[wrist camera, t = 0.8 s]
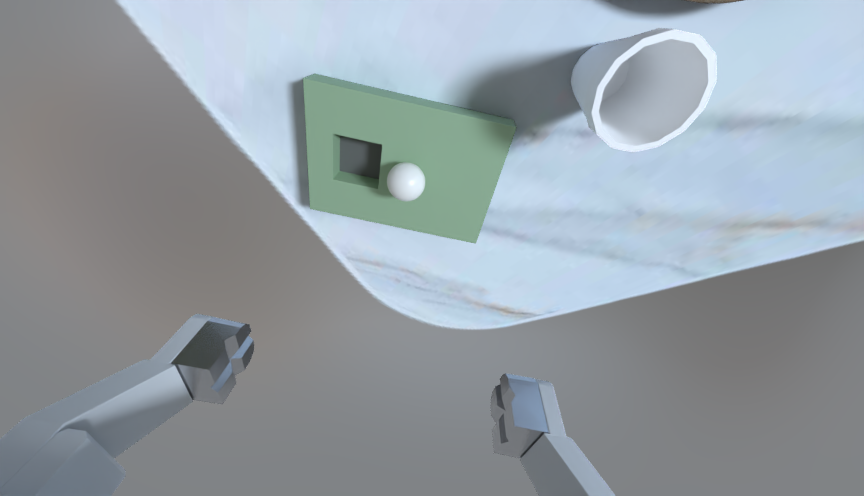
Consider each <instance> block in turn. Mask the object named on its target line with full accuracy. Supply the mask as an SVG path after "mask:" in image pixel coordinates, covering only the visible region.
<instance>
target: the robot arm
mask: <svg viewBox="0 0 864 496" xmlns="http://www.w3.org/2000/svg"><path fill="white" fill-rule="evenodd" d="M250 332H251V328H250V325H249V324H245V323H240V322H235V321H230V320H225V319H220V318H216V317H212V316H206V315H200V314H196V315H194V316H192V317H190V318H189V319H188V320H187V322H185V323H184V325H183V326H182V327H181V328H180V329H179V330H178V331H177V332H176V333H175V334H174V335H173V336H172V337H171V338H170V339H169V340H168V342H167V343H166V344H165V345H164V346H163V347H162V348H161V349H160V350H159V351H158V352H157V353H156V354H155V355H154V356H153V357H152V358H151V360H146V359H144V360H142V361H140V362H138V363H136V364H134V365H132V366H130V367H128V368H126V369H124V370H122V371H119V372H117V373H116V374H114V375H111V376H109V377H107V378H105V379H103V380H101V381H99V382H97V383H95V384H93V385H91V386H89V387H87V388H85V389H83V390H80V391H78V392H76V393H74V394H72V395H70V396H68V397H66V398H64V399H62V400H60V401H58V402H56V403H54V404H52V405H50V406H48V407H46V408H44V409H41V410H39V411H37V412H35V413H33V414H31V415H29V416H27V417H25V418H23V419H22V420H21V421H20V422H19V423H17V424H16V425H15V426H14V427H13V428H12V429H11V430H10V431H9V432H7V433H6V434H5V435H4V436H3V437H2V438H1V439H0V496H111V495H112V494H113V493H114V491H115V490H116V488H117V487H118V486H119V484H120V483H121V482H122V480H123V479H124V477H125V469H124V468H123V467H122V466H121V465H120V464H119V463H118V462H117V461H116V460H115V459H114V458H115V457H117V456H118V455H120V454H121V453H122V452H124V451H125V450H127V449H128V448H129V447H131V446H132V445H133V444H135V443H136V442H138V441H139V440H140V439H142V438H143V437H145V436H146V435H147V434H149V433H150V432H151V431H153V430H154V429H156V428H157V427H159V426H160V425H161V424H162V423H164V422H165V421H167V420H168V419H170V418H171V417H172V416H174V415H175V414H176V413H178V412H179V411H180V410H182V409H184V408H185V407H186V406H188V405H189V404H190V403H192V402H193V400H197V401H204V402H210V403H217V404H223V403H224V401H225V400H226V398H227V397H228V395H229V394H230V392H231V390H232V389H233V388H234V386H235V384H236V378H235V375H237V374H239V373H240V372H242V371H243V370H245V369H246V367H247V365H248V364H249V362H250V360H251V357H252V354H253V351H254V341H253V340H252V339H251V338H250V337H249V336H248V335H249V334H250ZM491 416H492V417H493V419H494V421H495V422H496V425H495V426H494V428H493V430H492V435H493V448H494V453H497V454H502V455H507V456H511V457H517V458H521V459H520V461H521V463H522V465H523V467H524V468H525V471H526V473H527V474H528V476H529V478H530V480H531V482H532V484H533V485H534V488H535V489H536V491H537V493H538V495H539V496H615V494H614V493H613V492H612V490H611V489H610V488H609V486H608V485H607V484H606V483H605V481H604V480H603V479H602V477H601V476H600V475H599V473H598V472H597V471H596V470H595V468H594V467H593V466H592V464H591V463H590V462H589V460H588V459H587V458H586V456H585V455H584V454H583V453H582V451H581V450H580V449H579V447H578V446H577V445H576V444H575V442H574V441H573V440H572V438H570V437H566V433H565V429H564V425H563V421H562V417H561V414H560V410H559V406H558V402H557V398H556V395H555V391H554V387H553V385H552V384H551V382H548V381H543V380H537V379H534V378H529V377H523V376H517V375H512V374H503V375H502V376H501V378H500V385H498V386H495V388H494V390H493V392H492V397H491Z"/></svg>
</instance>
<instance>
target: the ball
mask: <svg viewBox="0 0 864 496" xmlns="http://www.w3.org/2000/svg"><path fill="white" fill-rule="evenodd" d="M387 186H388V189H389V191H390V193H391V194H392V195H393V196H394V197H395V198H396V199H398V200H401V201H412V200H415V199H416V198H418V197H419V196H420V195H421V194H422V192H423V190H424V188H425V177H424V174H423V172H422V170H421V169H420V168H419V167H418V166H416V165H415V164H413V163H409V162H403V163H399V164H397V165H395V166H394V167H393V168H392V169H391V170H390V172H389V173H388V176H387Z"/></svg>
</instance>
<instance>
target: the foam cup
mask: <svg viewBox="0 0 864 496" xmlns="http://www.w3.org/2000/svg"><path fill="white" fill-rule="evenodd" d="M716 82H717V64H716V53H715V52H714V50H713V49H712V48H711V47H710V46H709V44H708V43H707V42H706V41H705V39H704V38H703V37H702V36H701V35H699V34H695V33H690V32H685V31H681V30H676V29H665V28H658V29H654V30H651V31H648V32H644V33H641V34H638V35H634V36H631V37H627V38H623V39H618V40H613V41H608V42H605V43H602V44H598V45H595V46H592V47H591V48H590V49H589V50H587V51H586V52H585V53H584V54H583V55H581V56H580V58H579V60H578V61H577V63H576V65H575V66H574V68H573V71H572V77H571V86H572V90H573V93H574V96H575V98H576V99H577V101H578V103H579V105H580V107H581V109H582V111H583V112H584V114H585V116H586V119H587V122H588V126H589V128H590V129H591V130H592V131H593V132H595V133H596V134H597V135H598V136H599V137H600V138H601V139H602V140H603V141H604V142H605V143H607V144H608V145H609V146H610V147H611V148H614V149H619V150H624V151H629V152H638V151H642V150H647V149H651V148H656V147H659V146H661V145H662V144H664V143H666V142H667V141H669V140H671V139H672V138H674V137H676V136H677V135H679V134H681V133H682V132H684V131H685V130H686V129H687V128H688V127H689V125H690V124H691V123H692V122H693V121H694V120H695V119H696V118H697V117H698V116H699V114H700V113H701V112H702V111H703V110H704V109H705V107H706V105H707V103H708V100H709V98H710V96H711V93H712V91H713V89H714V86H715V84H716Z"/></svg>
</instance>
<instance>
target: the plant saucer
mask: <svg viewBox="0 0 864 496" xmlns="http://www.w3.org/2000/svg"><path fill="white" fill-rule="evenodd" d="M685 1H690V2H698V3H730V2H736V1H743V0H685Z"/></svg>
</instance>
